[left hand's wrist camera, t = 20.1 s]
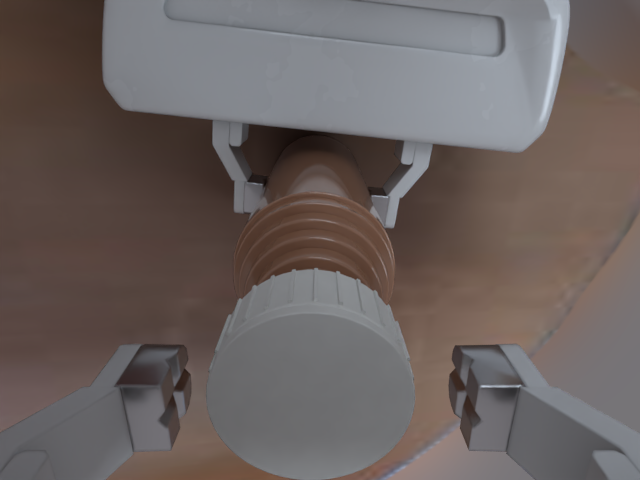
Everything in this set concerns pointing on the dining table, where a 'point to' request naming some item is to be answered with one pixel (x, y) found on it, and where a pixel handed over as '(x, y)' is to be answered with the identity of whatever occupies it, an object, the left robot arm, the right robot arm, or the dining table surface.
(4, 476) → the left robot arm
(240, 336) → the cap
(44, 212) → the dining table surface
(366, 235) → the bottle
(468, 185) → the dining table surface
